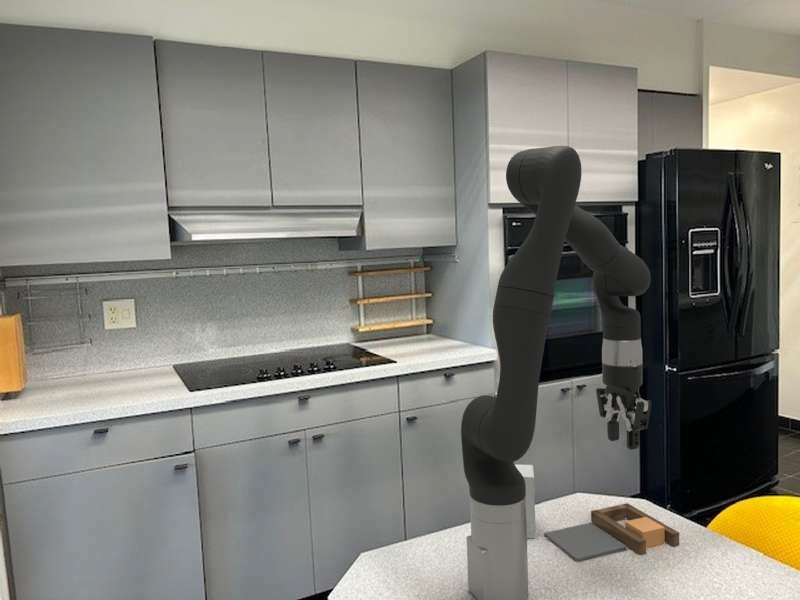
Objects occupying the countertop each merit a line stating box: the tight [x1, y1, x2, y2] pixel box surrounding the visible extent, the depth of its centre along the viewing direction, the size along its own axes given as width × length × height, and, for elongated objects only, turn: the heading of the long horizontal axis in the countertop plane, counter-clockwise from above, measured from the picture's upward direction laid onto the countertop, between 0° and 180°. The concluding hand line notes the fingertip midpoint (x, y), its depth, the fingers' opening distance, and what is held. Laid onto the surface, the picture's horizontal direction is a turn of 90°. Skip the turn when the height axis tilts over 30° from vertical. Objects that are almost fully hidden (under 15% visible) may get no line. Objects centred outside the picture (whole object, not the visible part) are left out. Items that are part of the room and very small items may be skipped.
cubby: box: [590, 502, 680, 556], centre depth 121 cm, size 9×14×2 cm, turn 19°
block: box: [624, 517, 666, 550], centre depth 118 cm, size 5×5×4 cm
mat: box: [543, 522, 628, 562], centre depth 118 cm, size 11×11×1 cm
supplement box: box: [514, 463, 536, 539], centre depth 124 cm, size 7×7×13 cm
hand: (623, 443), depth 122 cm, fingers open, 5 cm apart
